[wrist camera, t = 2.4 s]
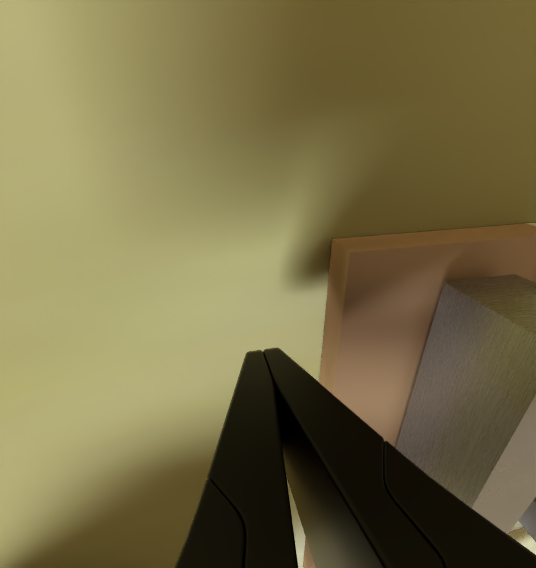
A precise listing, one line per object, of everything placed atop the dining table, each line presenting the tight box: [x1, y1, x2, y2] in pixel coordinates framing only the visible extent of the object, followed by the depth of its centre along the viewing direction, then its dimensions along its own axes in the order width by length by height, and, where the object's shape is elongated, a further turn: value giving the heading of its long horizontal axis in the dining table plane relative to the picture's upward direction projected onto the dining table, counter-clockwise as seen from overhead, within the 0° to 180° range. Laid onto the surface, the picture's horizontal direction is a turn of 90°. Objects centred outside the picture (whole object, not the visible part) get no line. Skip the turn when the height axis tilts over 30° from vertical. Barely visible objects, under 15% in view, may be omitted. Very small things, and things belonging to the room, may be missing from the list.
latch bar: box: [396, 274, 536, 534], centre depth 10 cm, size 13×4×4 cm, turn 1°
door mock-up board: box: [303, 223, 536, 568], centre depth 13 cm, size 22×18×4 cm
